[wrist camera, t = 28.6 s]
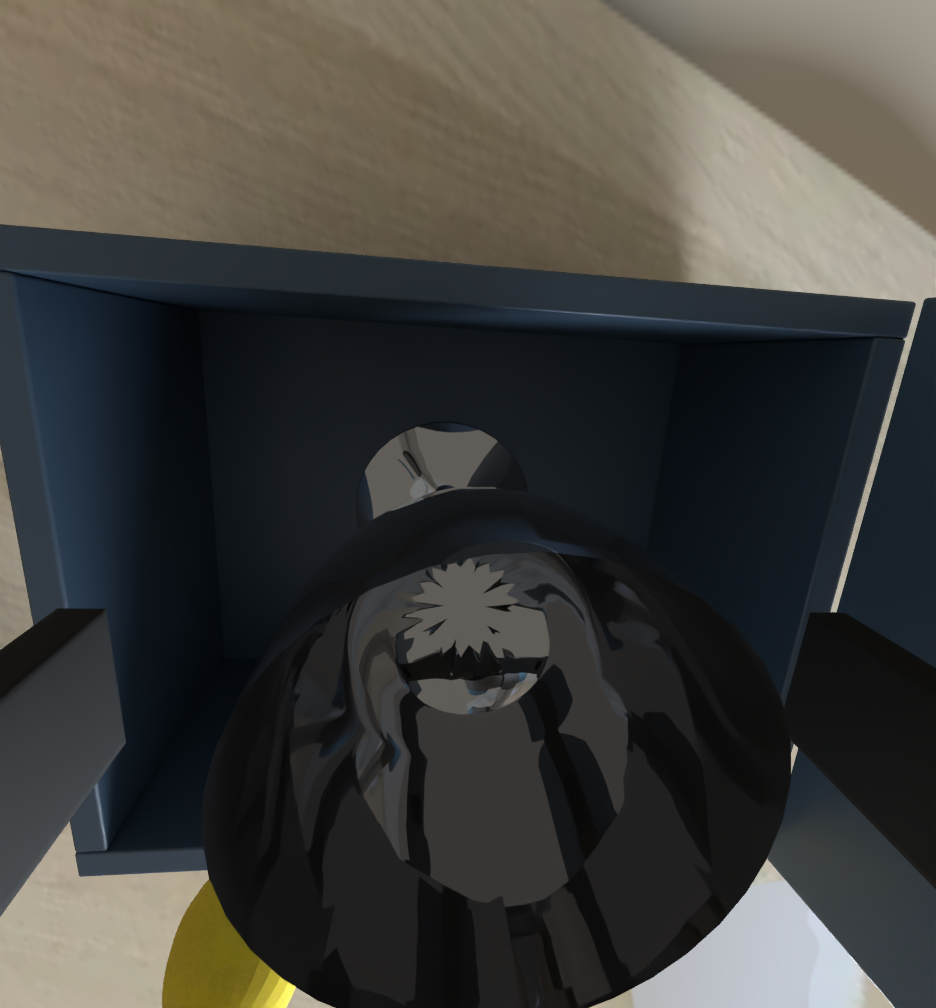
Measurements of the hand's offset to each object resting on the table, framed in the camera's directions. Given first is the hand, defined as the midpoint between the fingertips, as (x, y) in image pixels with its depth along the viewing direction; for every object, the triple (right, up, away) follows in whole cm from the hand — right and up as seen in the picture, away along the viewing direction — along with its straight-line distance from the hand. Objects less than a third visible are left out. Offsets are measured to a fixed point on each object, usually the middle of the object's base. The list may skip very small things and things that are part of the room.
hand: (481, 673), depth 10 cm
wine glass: (-1, +3, +12) cm, 12 cm away
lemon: (-10, -15, +17) cm, 25 cm away
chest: (-1, +3, +12) cm, 13 cm away
